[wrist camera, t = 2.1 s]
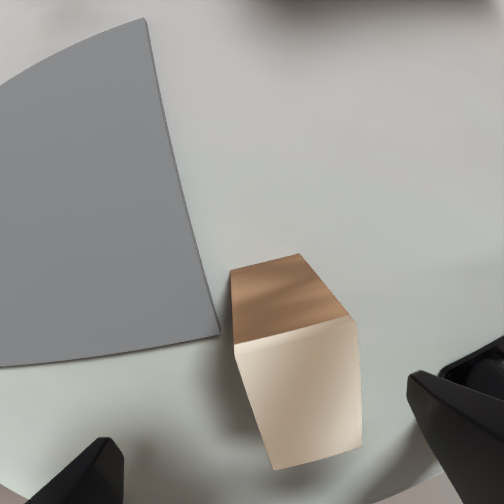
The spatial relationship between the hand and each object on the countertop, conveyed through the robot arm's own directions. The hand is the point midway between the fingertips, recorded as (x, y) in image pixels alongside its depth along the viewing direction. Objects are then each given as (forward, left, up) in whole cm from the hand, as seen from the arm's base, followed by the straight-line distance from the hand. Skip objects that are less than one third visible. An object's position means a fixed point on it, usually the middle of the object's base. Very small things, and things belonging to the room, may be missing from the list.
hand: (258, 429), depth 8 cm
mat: (+9, -7, -7) cm, 13 cm away
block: (-1, 0, -7) cm, 7 cm away
